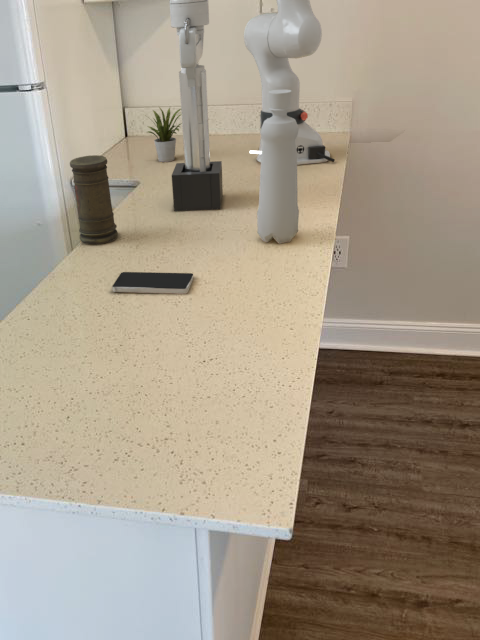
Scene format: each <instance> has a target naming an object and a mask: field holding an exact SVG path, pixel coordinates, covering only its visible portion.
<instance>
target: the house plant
mask: <svg viewBox="0 0 480 640" xmlns="http://www.w3.org/2000/svg"><path fill="white" fill-rule="evenodd" d="M158 108H159V110H160V112H161V116H160V115H159V114H158V113H157V111H155V110H153V109H152V112H153V115H154V117H155V118H154V117H152V119H153V120H151V118H150V117H149V116H147V115H146V114H144V116H145V117H147V118H148V119H149V120H151V122H153V124H154V125H155V127H156V128H157V129H156V128H154V127H152V126H149V125H147V128H149V129H150V131H147V134H148V133H149V134H152V135H154V136H155V137H156V138H155V139H154V140H153V142H154V146H155V150H156V154H157V160H158V162H160V163H167V162H168V163H169V162H173V161H175V157H176V156H175V155H176V145H177V138H176V137H173V135H174V134H175V135H178V134H177V132H178V133H179V131H180V129H181V125H182V122H180V123H179V124H177V125H175V123H176V122H177V121H178V119H179V118H180V116H182V113H180V112H181V108H179V109H177V110H176V111H175V112H174V113H173V114H172V116H171V108H170V107H168V108H167V111H166V115H165V113H164V111H163V109H162V108H161V107H160V106H158ZM176 115H177V116H176ZM161 118H162V119H161ZM172 123H173V124H172ZM176 131H177V132H176Z"/></svg>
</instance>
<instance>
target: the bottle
mask: <svg viewBox="0 0 480 640" xmlns="http://www.w3.org/2000/svg"><path fill="white" fill-rule="evenodd" d="M291 92H292V91H291V90H273V91H269V103H270V108H269V110H271V112H272V114H273V116H272V117H270V118H268V119H266V120H265V121H264V123H263V125H262V127H261V129H259V133H260V139H261V138H262V140H263V142H264V143H263V148H262V153H261V162H260V170H259V171H260V172H259V192H258V193H259V194H258V197H259V198H258V207H257V208H258V209H257V211H256V219H257V220H256V221H257V223H256V225H257V226H256V227H257V228H256V229H257V231H256V232H257V233H256V234H257V235H258V236H259V238H260V239H261V241H262V242H264V243H269V242H272V240H273V239H274V240H275V241H276V242H277V243H278V244H286V243H290V242H291V241H292V239H294V238H295V236H296V234H297V233H298V231H299V215H300V209H299V204H298V201H299V200H298V165H297V150H296V144H295V139H296V137H297V135H298V131H299V127H298V125H297V122H296V120H295V119H294V118H291V117H289V116H287V112H288V110H289V109H291V107H290V100H291Z"/></svg>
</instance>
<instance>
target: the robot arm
mask: <svg viewBox="0 0 480 640" xmlns="http://www.w3.org/2000/svg"><path fill="white" fill-rule="evenodd" d="M275 1H276V6H277V12H266V13H261V14H259V15H255V16H253V17H251V18H250V19H249V20H248V22H247V23H246V25H245V27H244V32H243V42H244V45H245V47H246V50H247V51H248V52H249V53H250V55H251V56H252V58H253V59H254V62H255V65H256V67H257V71H258V74H259V78H260V85H261V110H260V114H259V130H261V127H262V125H263V123H264V121H265V120H266V119H268V118H270V117H272V116H273V114H272V112H271V110H269V108H270V103H269V91H273V90H291V91H292V92H291V100H290V107H291V109H289V110H288V112H287V116H289V117H291V118H294V119H295V120H296V122H297V125H298V127H299V131H298V135H297V137H296V139H295V144H296V150H297V166H299V165H308V164H309V165H310V164H318V163H319V164H320V163H326V162H328V161H330V162H331V163H334V162H335V159H334V158H332V157H331V153H330V151H328V150H327V149H326V146H325V145H324V142H323V138H322V135H321V134H320V133H319V132H318V131H317V130H316V129H314V128H313V127H312V126H310V124H308V123H307V122H306V120H307V119H308V117H309V116H308V115H309V114H308V112H306V111H305V110H304V109H302V108H300V91H301V90H300V88H301V82H300V79H299V77H298V75H297V74H296V73H295V72H294V71H293V69H292V68H291V65H290V61H289V59H296V60H297V59H302V58H306V57H309V56H313V54H314V53H316V51H317V50H318V48H319V47H320V44H321V41H322V36H323V32H322V31H323V30H322V25H321V22H320V21H319V19H318V18H317V17H316V15H315V13H314V11H313V9H312V6H311V0H275ZM168 3H169V17H170V27H171V28H175V29H176V36H178V40H179V41H178V44H179V63H180V68H186V75H187V82H188V87H195V85H196V79H195V67H196V66H197V65H200V64H199V63H200V60H201V58H202V57H203V52H204V35H205V26H208V25H209V24H210V11H209V10H210V9H209V0H169V2H168ZM263 143H264V142H263V140H262V138H261V137H260V139H259V147H258V150H249V154H256V155H257V156H256V162H258V163H261V153H262V148H263Z"/></svg>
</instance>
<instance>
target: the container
mask: <svg viewBox="0 0 480 640" xmlns="http://www.w3.org/2000/svg"><path fill="white" fill-rule="evenodd" d="M107 164H108V158H107V157H106V156H105V155H98V154H97V155H95V154H93V155H85V156H83V155H82V156H79V157H75V158H73V159H71V160H70V161H69V166H70V168H71V172H72V177H73V184H74V191H75V192H74V193H75V199H76V205H77V212H78V221H79V229H78V232H79V233H80V234H79V240H80V242H81V243H82V244H85V245H93V246H94V245H103V244H108V243H111V242H113V241H114V240H116V239H117V238H118V235H119V232H118V230H117V228H118V227H117V224H116V222H115V218H114V217H115V216H114V215H115V214H114V211H113V206H112V199H111V198H112V197H111V190H110V183H109V181H110V180H109V175H108V170H107V169H108V166H107Z"/></svg>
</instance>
